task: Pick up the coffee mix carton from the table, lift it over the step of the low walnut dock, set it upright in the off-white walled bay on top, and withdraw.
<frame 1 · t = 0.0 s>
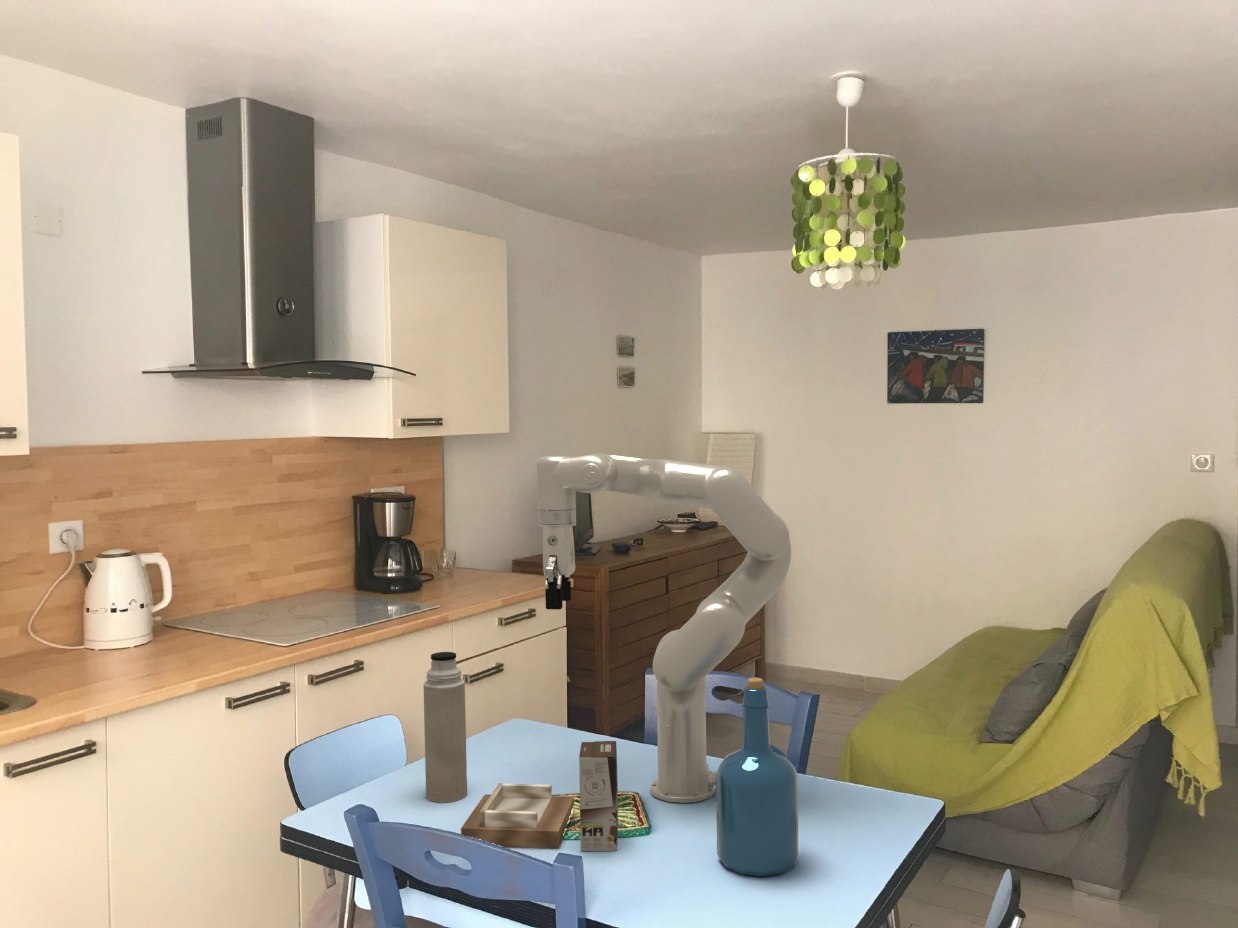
hand: (558, 604, 193), 37 cm above the table, tool pointing down, fingers open, 9 cm apart
wine bottle: (758, 861, 160), on the table
dock: (519, 828, 175), on the table
coffee box: (599, 841, 169), on the table
thermos bottle: (446, 796, 192), on the table
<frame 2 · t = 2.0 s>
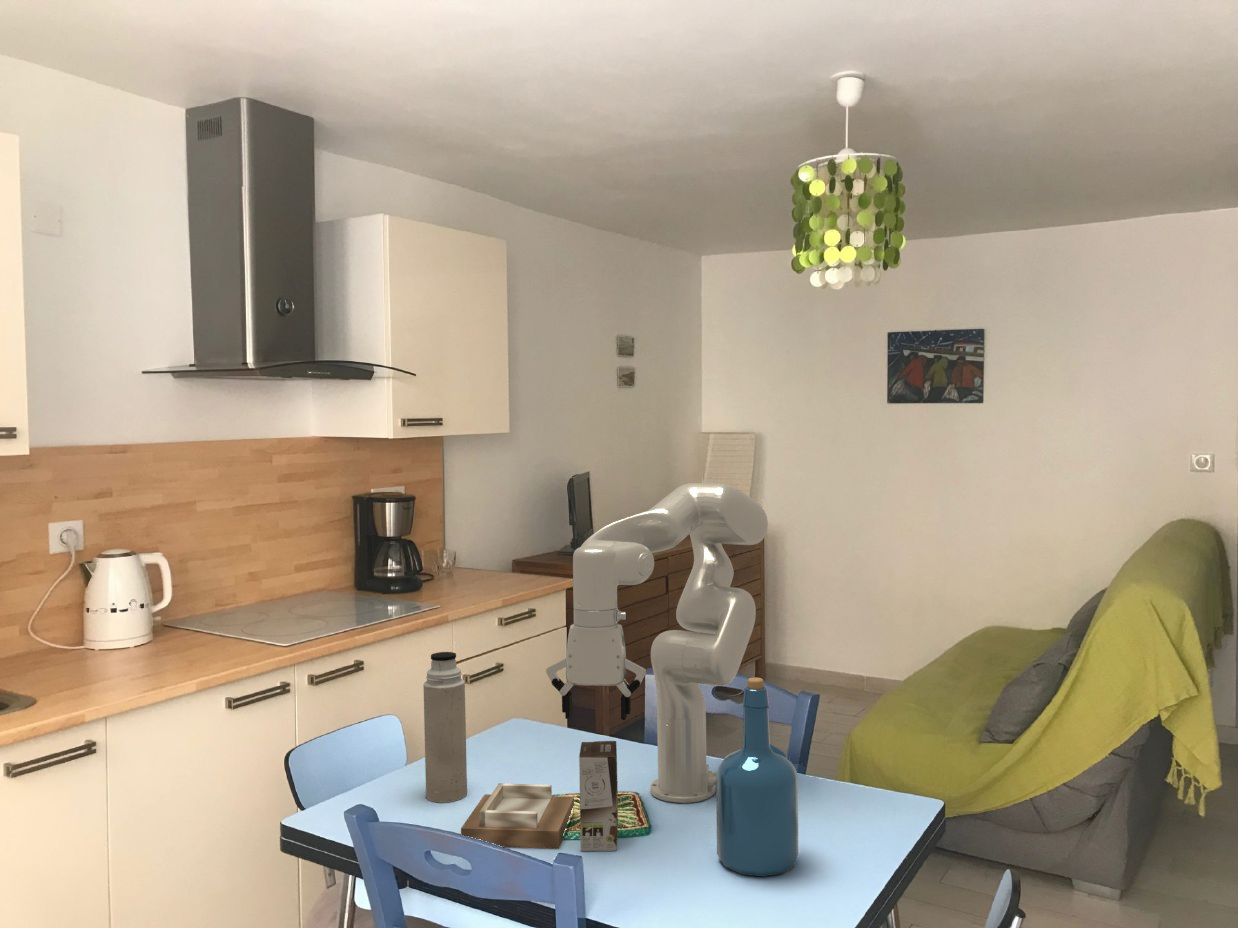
hand: (596, 717, 168), 22 cm above the table, tool pointing down, fingers open, 9 cm apart
nothing on the table moved.
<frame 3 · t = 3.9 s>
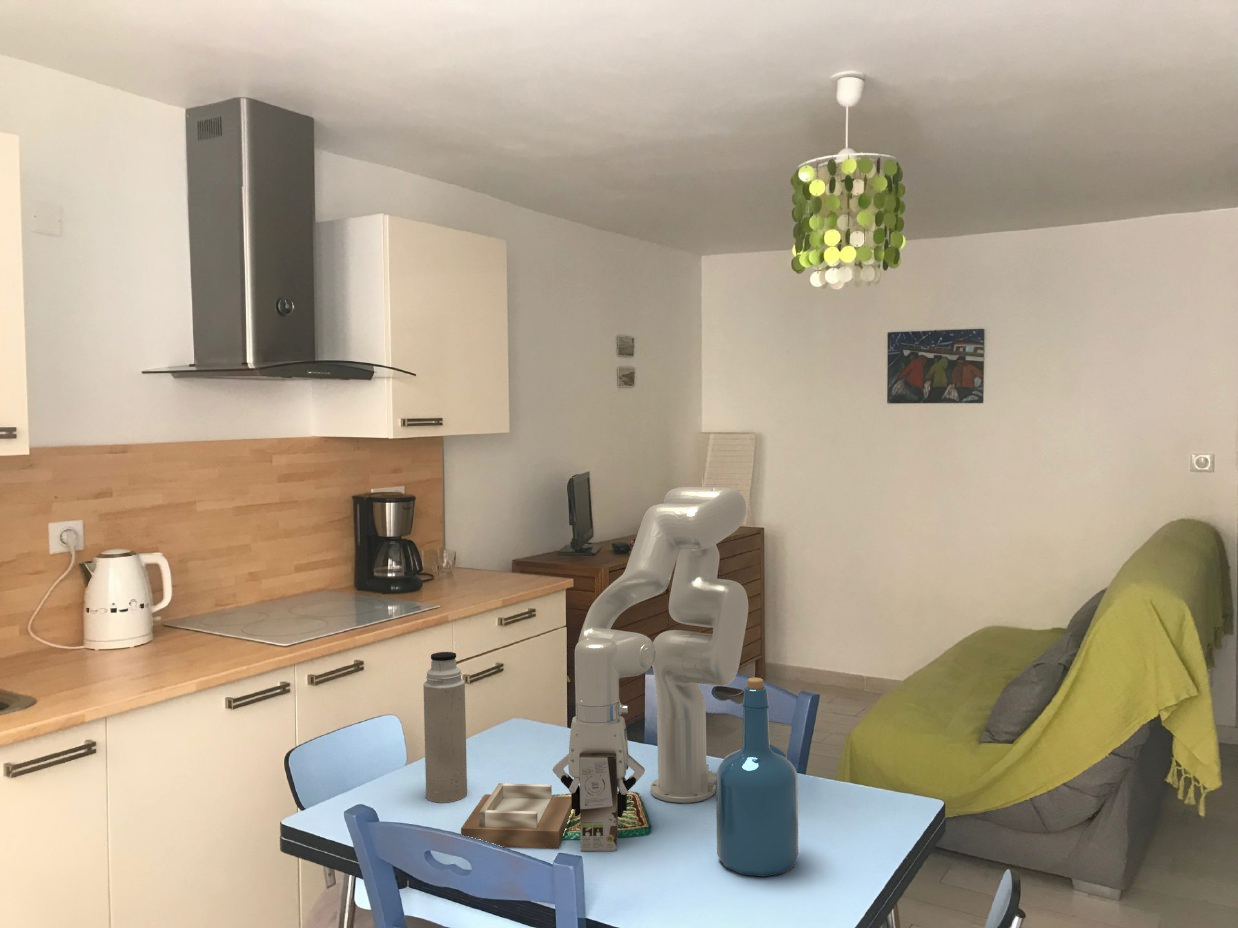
hand: (599, 812, 169), 5 cm above the table, tool pointing down, fingers closed on coffee box, 6 cm apart
coffee box: (599, 841, 169), on the table, touching gripper
everything else where it was.
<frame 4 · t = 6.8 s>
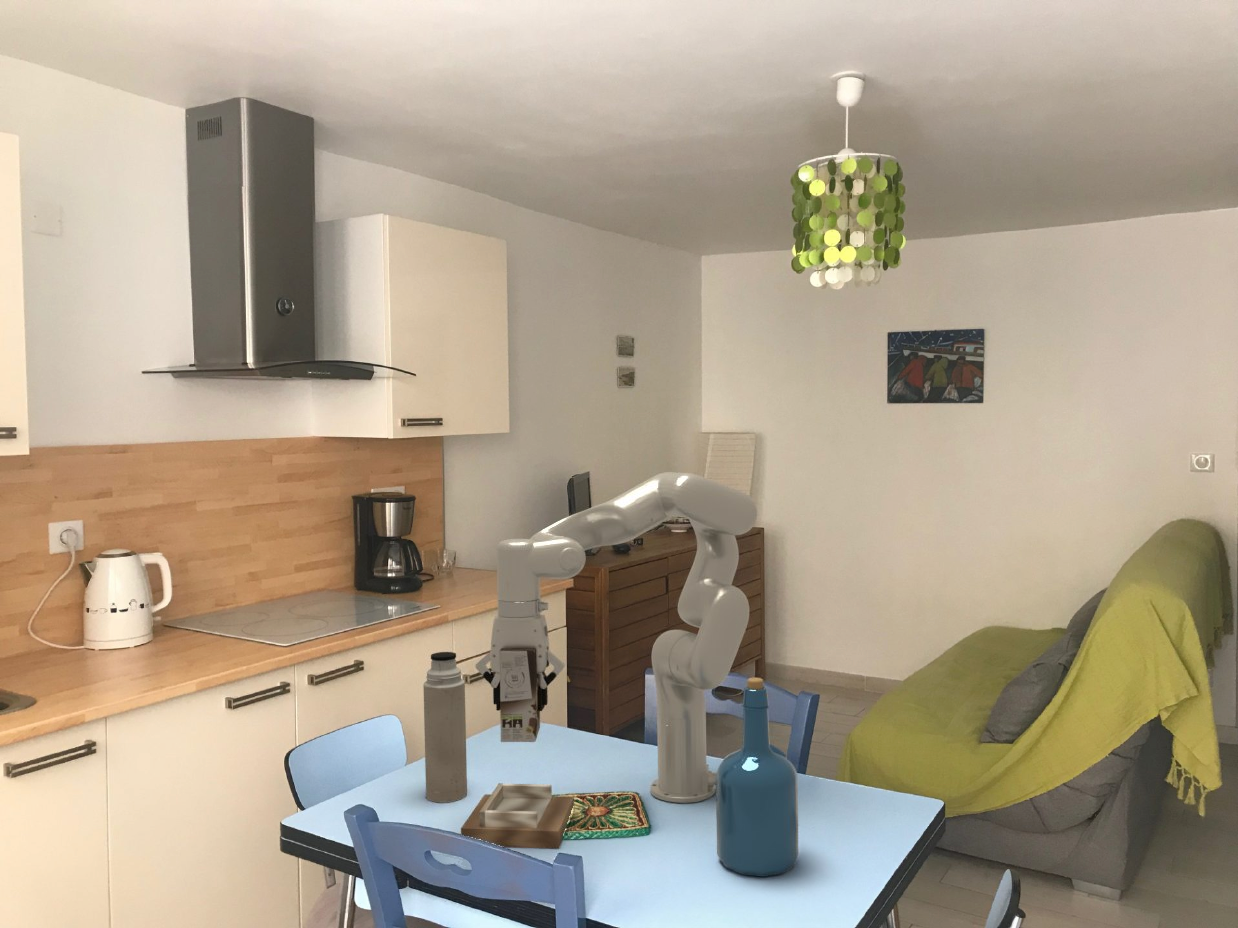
hand: (520, 707, 174), 22 cm above the table, tool pointing down, fingers closed on coffee box, 6 cm apart
coffee box: (521, 735, 174), point 17 cm above the table, touching gripper
everything else where it was.
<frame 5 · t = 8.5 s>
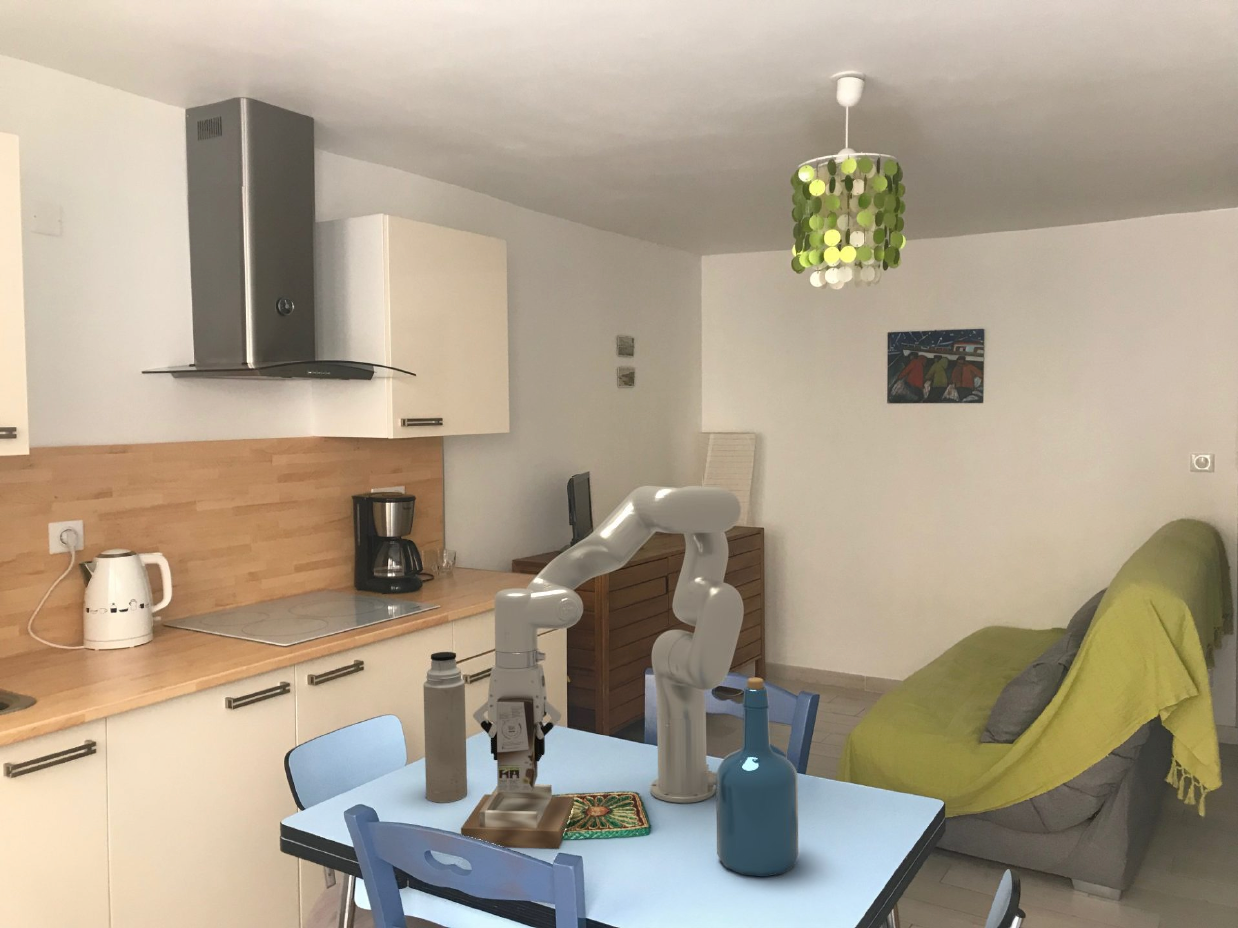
hand: (517, 757, 175), 13 cm above the table, tool pointing down, fingers closed on coffee box, 6 cm apart
coffee box: (518, 785, 175), point 8 cm above the table, touching gripper
everything else where it was.
when the fingers open (9 cm above the table, at t = 9.7 s): coffee box drops 1 cm, resting on dock.
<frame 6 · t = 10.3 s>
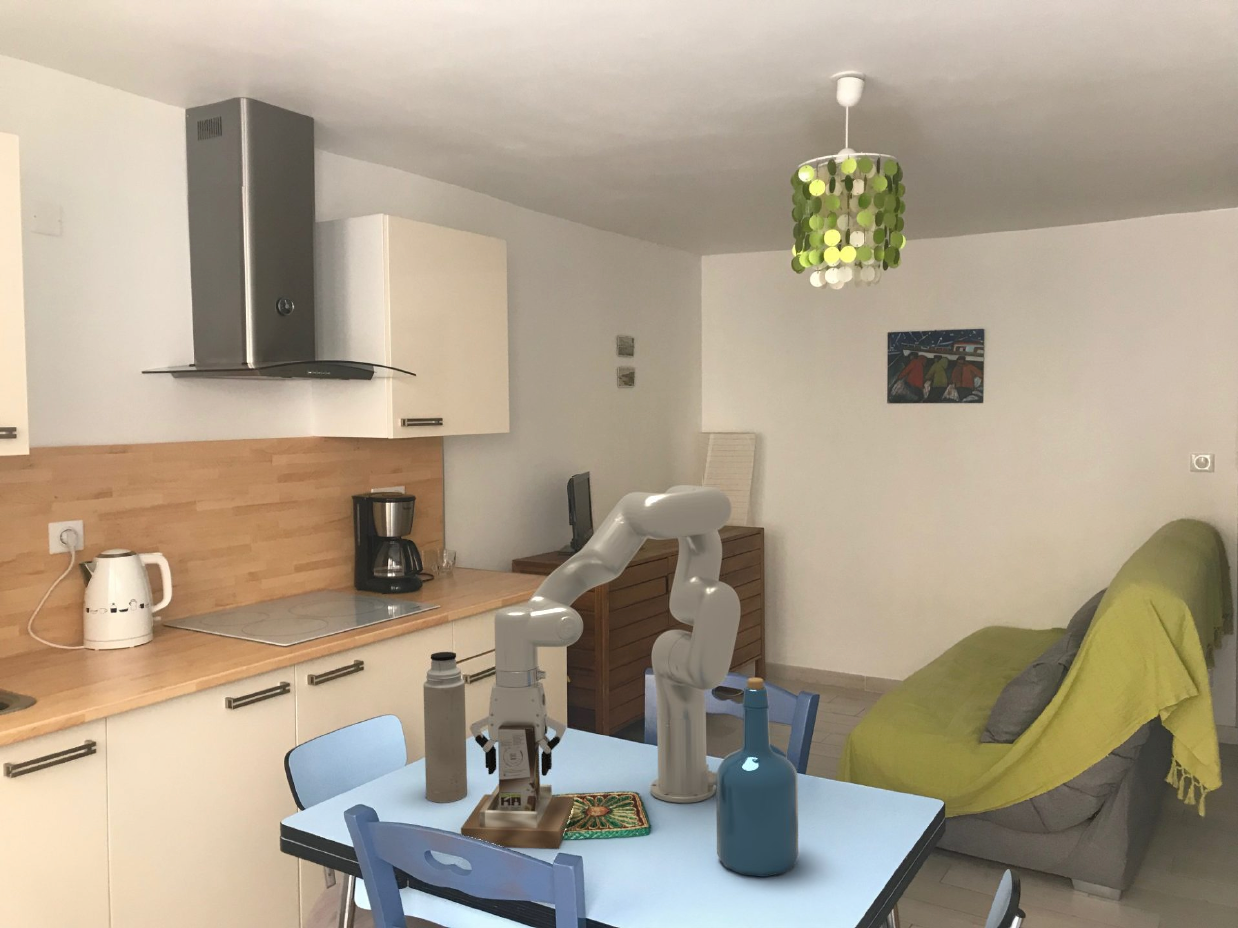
hand: (518, 772, 175), 10 cm above the table, tool pointing down, fingers open, 9 cm apart
coffee box: (520, 811, 175), point 3 cm above the table, touching dock
everything else where it was.
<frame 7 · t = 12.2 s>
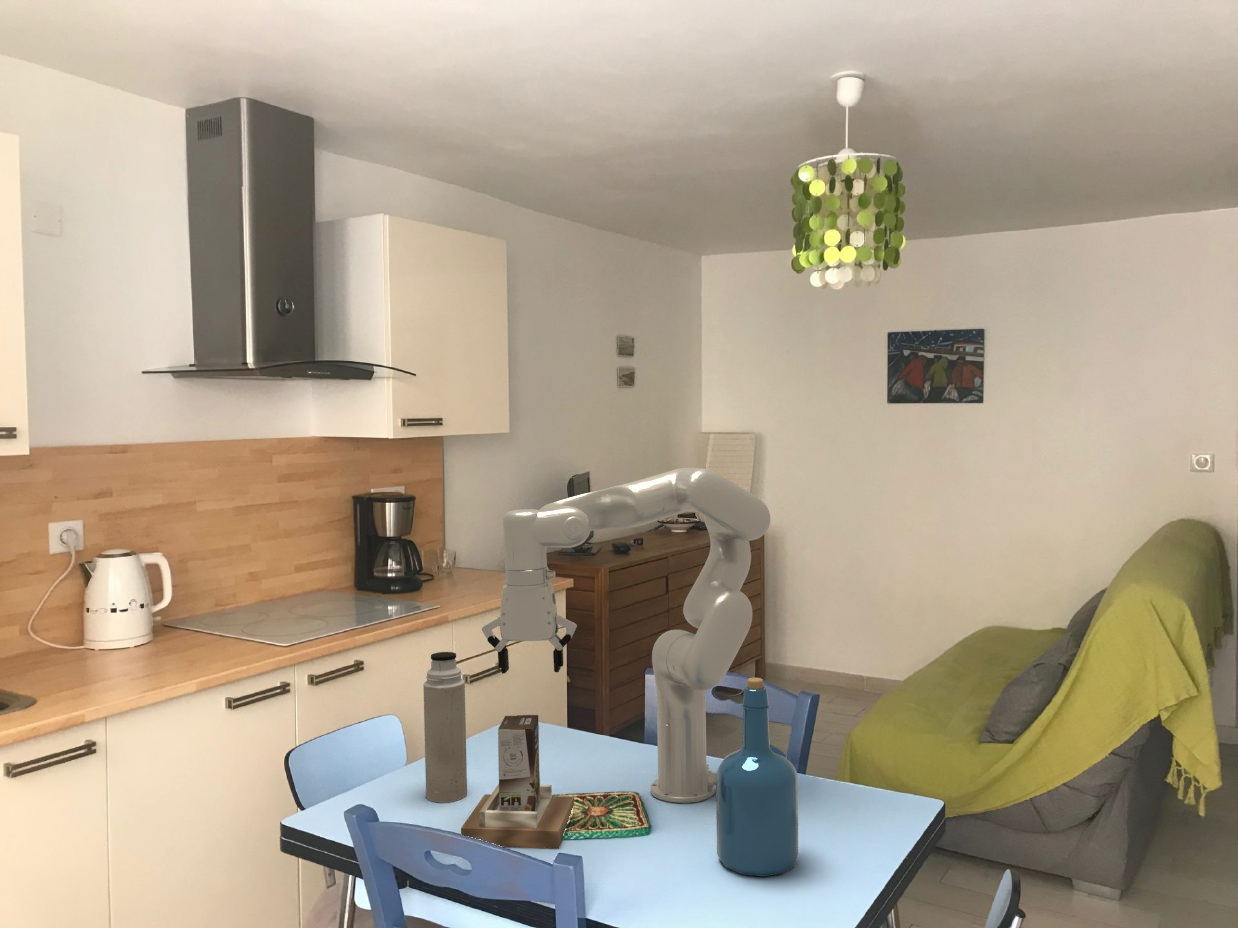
hand: (531, 670, 178), 27 cm above the table, tool pointing down, fingers open, 9 cm apart
nothing on the table moved.
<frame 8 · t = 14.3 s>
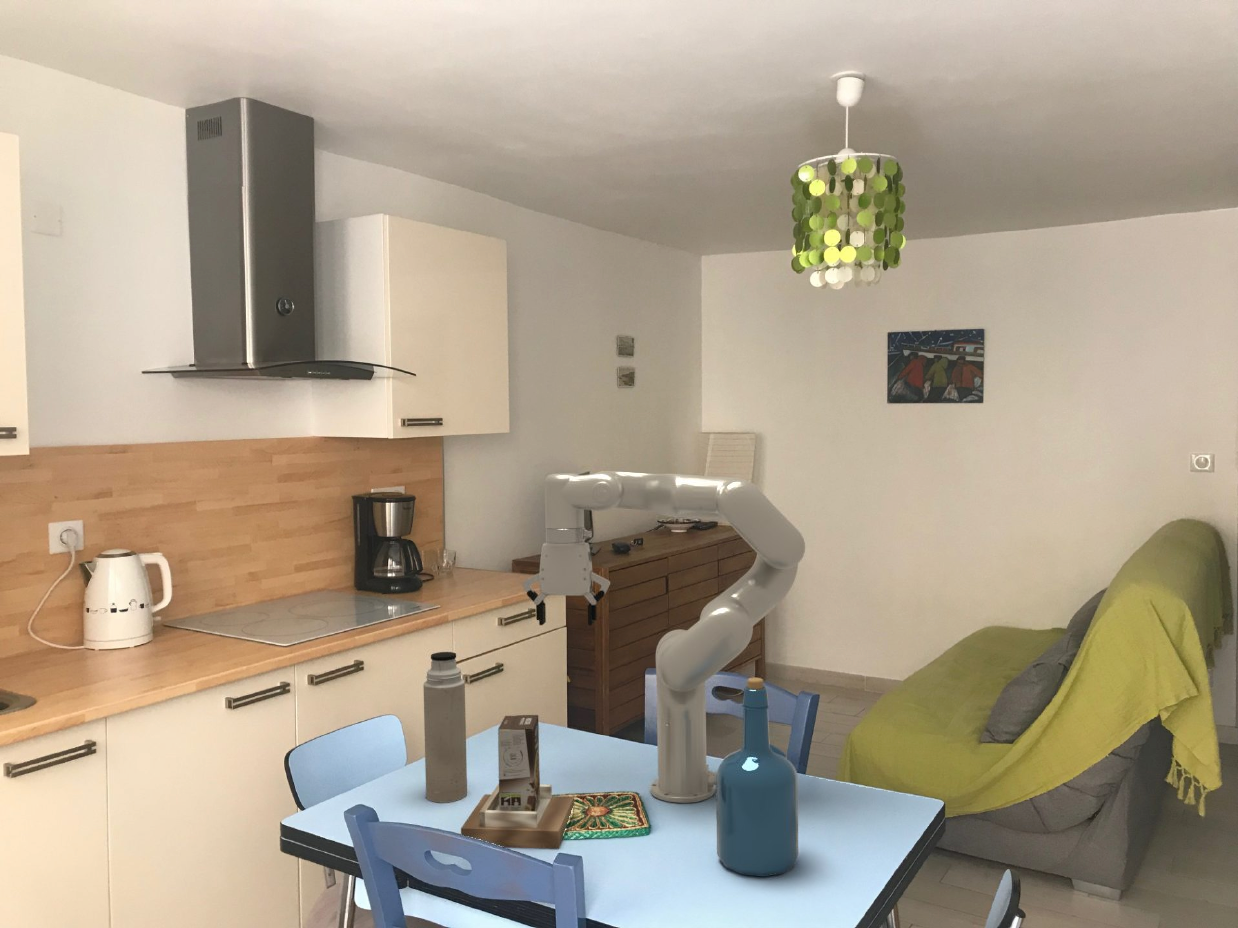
hand: (566, 624, 191), 33 cm above the table, tool pointing down, fingers open, 9 cm apart
nothing on the table moved.
at the end: coffee box inside the target area on the dock (0.1 cm from its centre), point 3.0 cm above the dock's base; coffee box tilted 0°; the gripper is holding nothing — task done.
